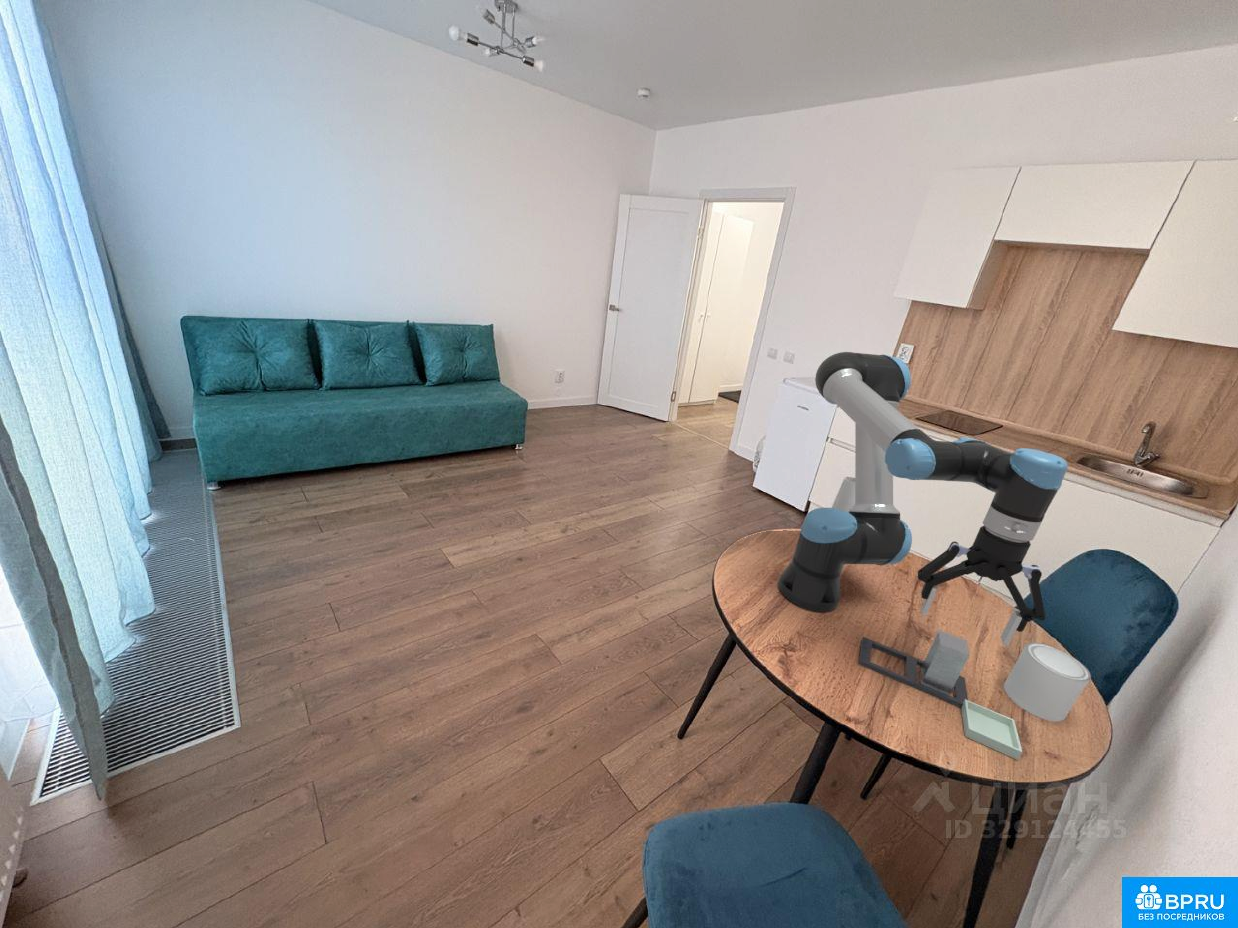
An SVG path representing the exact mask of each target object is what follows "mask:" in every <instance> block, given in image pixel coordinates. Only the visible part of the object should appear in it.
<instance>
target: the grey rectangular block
mask: <svg viewBox="0 0 1238 928" xmlns="http://www.w3.org/2000/svg"><path fill="white" fill-rule="evenodd" d="M969 658H970V650H969V644H968V640H967V639H964V638H962V637H959V636H957V635H953V634H952V633H948V632H945V631H943V630H940V629H938V631H937V632H936V635H935V637H934V639H933V642H932V644H931V646H930V648H929V650H928V651H927V654H926V656H925V659H924V660H923V661H924V663H923V665H922V667H921V668H920V683H921V684H924V685H926V686H928V687H931V688H933V689H935V690H938V691H940V692H943V693H945V694H947V695H950V694H951V693H952V691H953V687H954V685H955V683H956V681H957V679H958V677H959V675H960V676H961V673H962V671H963V669H964V667H965V666H966V663H967V661H968V660H969ZM950 696H951V695H950Z"/></svg>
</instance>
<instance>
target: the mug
mask: <svg viewBox="0 0 1238 928" xmlns="http://www.w3.org/2000/svg"><path fill="white" fill-rule="evenodd" d="M1091 679H1092V676H1091V672H1090V671H1089V669H1088V668H1087V667H1086V666H1085V665H1084V664H1083V663H1082V662H1080V661H1079V660H1078V659H1077V658H1075V657H1074V656H1072V655H1071V654H1069V653H1067V652H1065V651H1064V650H1061V649H1059V648H1057V647H1055V646H1052V645H1049V644H1044V643H1041V642H1034V641H1033V642H1028V643H1027V644H1026V645H1025V646H1024V647H1023V649H1022V651H1021V653H1020V654H1019V657H1018V658H1017V660H1016V662H1015V663H1014V666H1013V667H1012V669H1011V671H1010V672H1009V674H1008V676H1007V678H1006V680H1005V681H1004V683H1003V690H1004V692H1005V693H1006V695H1007V696H1008V698H1010V700H1011V701H1012V702H1013V703H1014V704H1016V705H1017V706H1018V707H1019V708H1021V709H1022V710H1024V711H1025V712H1027V713H1029V714H1030V715H1033V716H1035V717H1037V718H1039V719H1041V720H1045V721H1047V722H1055V723H1058V722H1064V720H1065V718H1066V717H1067V716H1068V715H1069V712H1070V711H1071V710H1072V708H1073V707H1074V705H1075V704H1076V702H1077V700H1078V699H1079V697H1080V695H1081V694H1082V692H1083V691H1084V689H1085V688H1086V686H1087V685H1088V683H1089V681H1090V680H1091Z"/></svg>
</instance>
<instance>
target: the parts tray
mask: <svg viewBox="0 0 1238 928" xmlns="http://www.w3.org/2000/svg"><path fill="white" fill-rule="evenodd" d="M968 706H969V708H968ZM960 710H961V715H962V725H963V731H964V737H966V738H967V739H970V740H972V741H974V742H976V743H979V744H981V745H983V746H985V747H988V748H990V749H992V750H995V751H996V752H999V753H1001V754H1003V755H1006V756H1008V757H1010V758H1012V759H1014V760H1017V761H1018V760H1019V759H1020V757H1021V756H1022V754H1023V748H1022V746H1021V742H1020V737H1019V734H1018V729H1017V726H1016V722H1015V719H1013V718H1011V717H1008V716H1006V715H1004V714H1001V713H999V712H996V711H995V710H991V709H989V708H988V707H985V706H983V705H979V704H977V703H975V702H973V701H970V700H969V699H968V700H966V699H965V700H964V702H963V706H962V708H960Z"/></svg>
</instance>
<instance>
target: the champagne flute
mask: <svg viewBox="0 0 1238 928" xmlns="http://www.w3.org/2000/svg"><path fill="white" fill-rule="evenodd" d="M854 505H855V477H852V476H844V478H843V480H842V483H841V484H840V487H839V489H838V492H837V494H836V496H835V498H834V501H833V503H832V506H831V507H830V508H835V509H836V510H843V511H846V512H848V513H849V510H850V509H851V508H852V507H853V506H854Z"/></svg>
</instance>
